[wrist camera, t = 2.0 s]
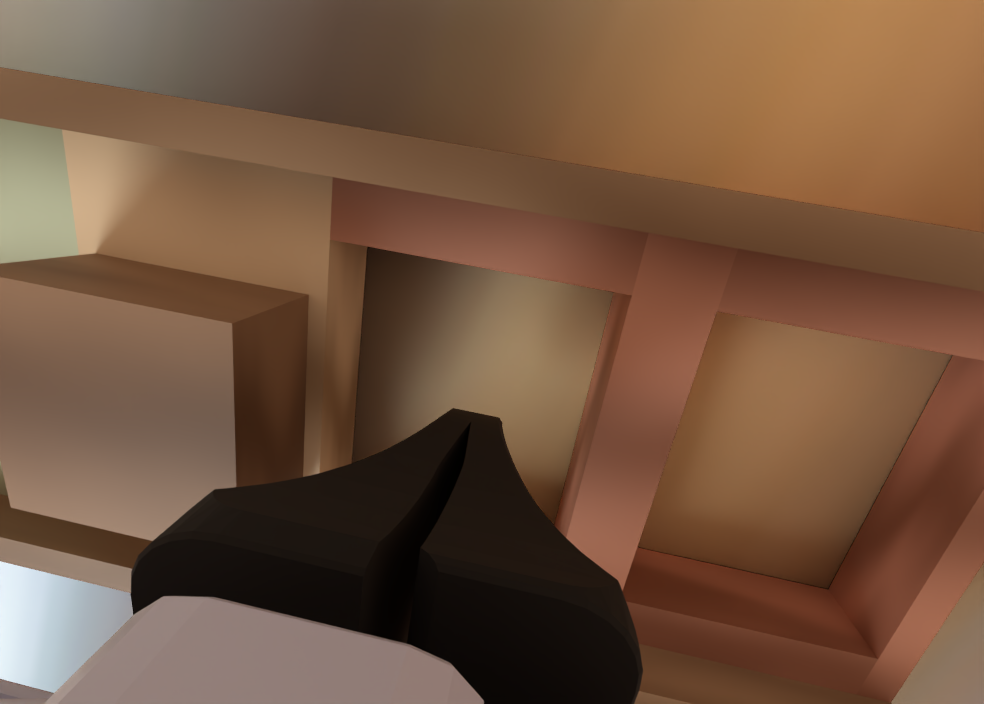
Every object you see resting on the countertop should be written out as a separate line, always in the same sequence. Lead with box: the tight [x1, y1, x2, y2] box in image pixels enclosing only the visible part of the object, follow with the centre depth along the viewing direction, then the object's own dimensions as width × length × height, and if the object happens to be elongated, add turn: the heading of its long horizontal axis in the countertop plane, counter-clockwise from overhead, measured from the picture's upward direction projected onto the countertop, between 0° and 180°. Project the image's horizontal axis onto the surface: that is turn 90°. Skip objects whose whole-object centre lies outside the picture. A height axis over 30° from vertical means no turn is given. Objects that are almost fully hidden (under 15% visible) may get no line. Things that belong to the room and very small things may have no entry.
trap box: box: [0, 67, 984, 704], centre depth 13 cm, size 14×32×4 cm, turn 81°
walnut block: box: [0, 253, 309, 541], centre depth 12 cm, size 6×6×3 cm
